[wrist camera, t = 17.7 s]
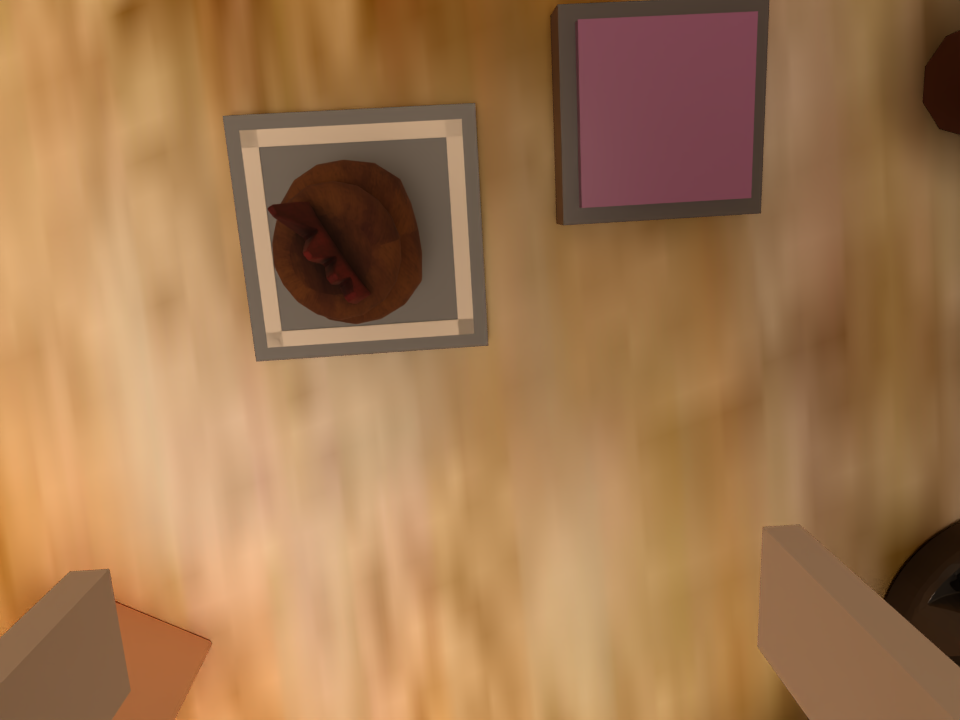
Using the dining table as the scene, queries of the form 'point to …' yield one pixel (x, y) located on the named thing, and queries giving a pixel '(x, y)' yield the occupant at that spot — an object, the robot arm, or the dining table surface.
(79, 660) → the robot arm
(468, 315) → the marked board
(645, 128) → the ink pad
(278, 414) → the dining table surface
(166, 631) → the soap dispenser
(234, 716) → the dining table surface
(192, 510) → the dining table surface
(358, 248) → the wooden figurine
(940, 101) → the ice cream bowl
